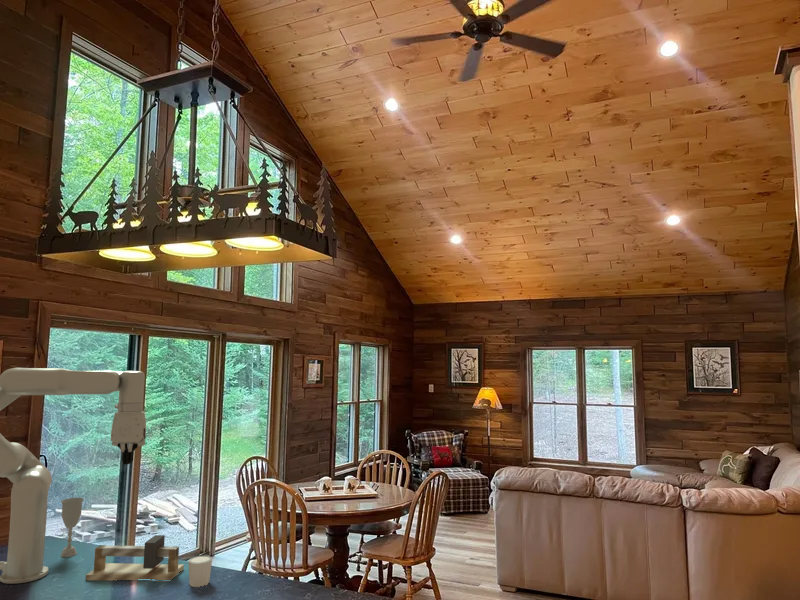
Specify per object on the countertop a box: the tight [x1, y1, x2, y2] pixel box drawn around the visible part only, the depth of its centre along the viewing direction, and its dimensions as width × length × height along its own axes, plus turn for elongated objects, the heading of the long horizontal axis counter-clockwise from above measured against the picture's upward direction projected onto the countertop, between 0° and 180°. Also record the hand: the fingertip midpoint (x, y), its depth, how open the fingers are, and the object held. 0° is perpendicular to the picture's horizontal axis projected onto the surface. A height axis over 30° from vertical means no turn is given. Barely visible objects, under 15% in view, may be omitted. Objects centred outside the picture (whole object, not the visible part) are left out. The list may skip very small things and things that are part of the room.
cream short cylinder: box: [188, 555, 213, 588], centre depth 173 cm, size 7×7×7 cm
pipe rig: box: [85, 544, 185, 582], centre depth 179 cm, size 26×10×8 cm, turn 90°
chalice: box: [59, 497, 84, 558], centre depth 197 cm, size 7×7×18 cm
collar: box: [143, 534, 166, 569], centre depth 179 cm, size 3×8×8 cm, turn 0°
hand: (127, 463), depth 191 cm, fingers closed
